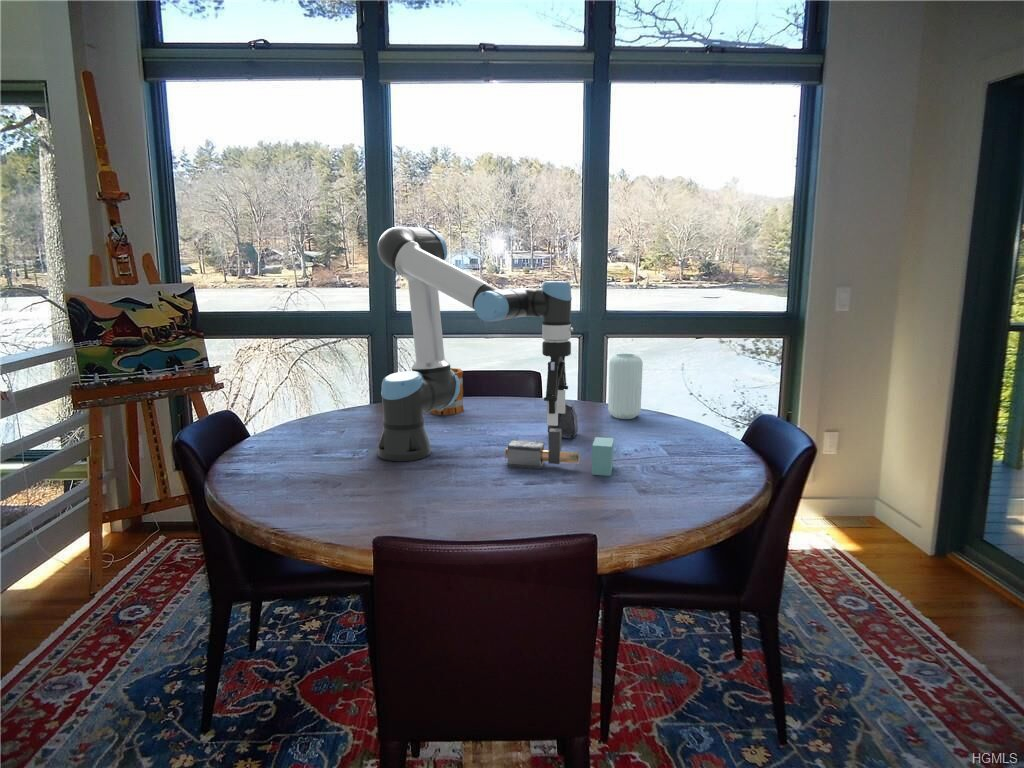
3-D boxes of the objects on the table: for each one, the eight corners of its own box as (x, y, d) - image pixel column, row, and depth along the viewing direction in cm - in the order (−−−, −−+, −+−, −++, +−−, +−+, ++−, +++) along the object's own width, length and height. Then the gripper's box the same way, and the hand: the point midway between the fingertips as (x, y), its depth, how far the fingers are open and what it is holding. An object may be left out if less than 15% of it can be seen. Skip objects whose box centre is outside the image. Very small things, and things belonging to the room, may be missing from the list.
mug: (432, 406, 249) (431, 367, 246) (467, 407, 247) (466, 368, 244) (419, 418, 230) (418, 377, 227) (457, 420, 228) (456, 377, 225)
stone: (568, 446, 203) (540, 433, 207) (577, 443, 212) (550, 431, 216) (582, 411, 202) (554, 398, 205) (590, 410, 211) (563, 398, 214)
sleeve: (507, 467, 178) (507, 445, 177) (512, 460, 184) (512, 439, 182) (540, 469, 176) (540, 448, 175) (543, 462, 182) (544, 441, 181)
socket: (591, 474, 172) (592, 445, 170) (594, 465, 180) (595, 437, 178) (610, 475, 171) (611, 446, 169) (612, 466, 179) (613, 438, 177)
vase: (616, 411, 241) (618, 351, 237) (645, 415, 234) (648, 354, 230) (602, 417, 232) (603, 355, 227) (631, 422, 225) (634, 358, 221)
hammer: (505, 460, 179) (505, 428, 177) (507, 456, 182) (507, 425, 180) (577, 465, 175) (578, 433, 173) (579, 461, 178) (579, 430, 176)
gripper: (564, 347, 158) (563, 431, 163) (576, 335, 182) (576, 409, 186) (533, 346, 160) (534, 430, 164) (550, 334, 184) (550, 407, 188)
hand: (556, 419), depth 175 cm, fingers open, 13 cm apart
